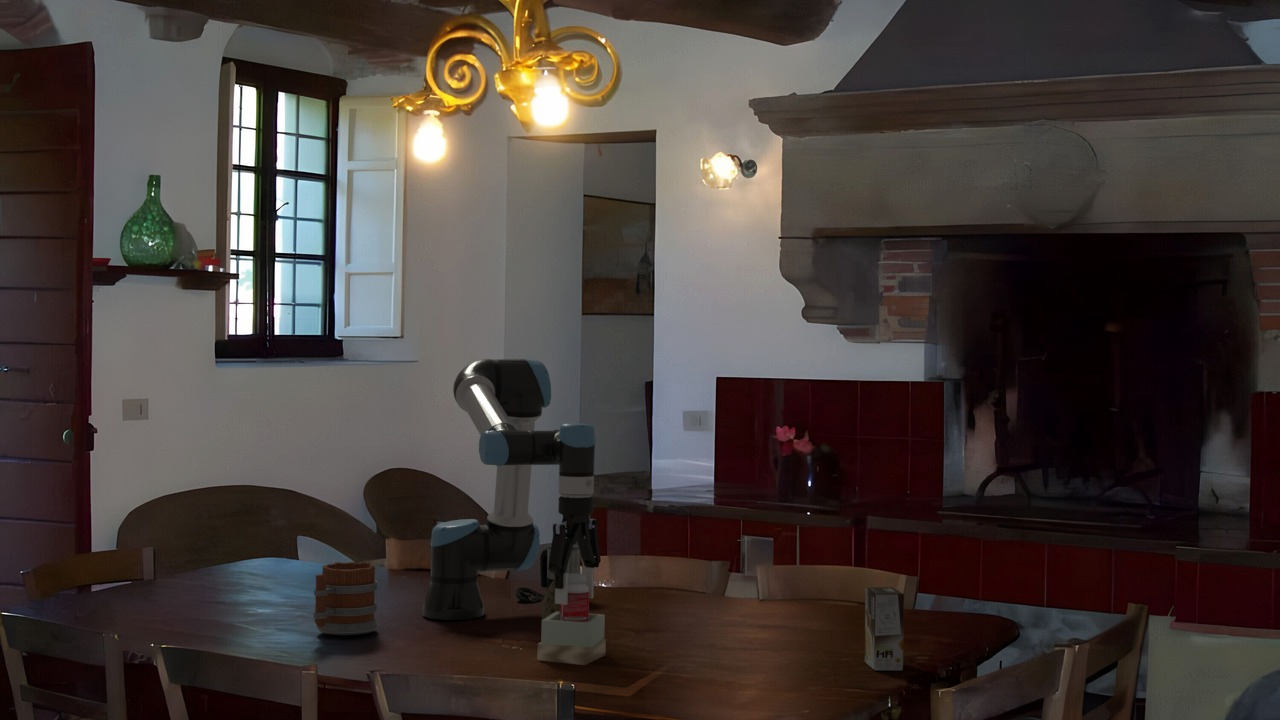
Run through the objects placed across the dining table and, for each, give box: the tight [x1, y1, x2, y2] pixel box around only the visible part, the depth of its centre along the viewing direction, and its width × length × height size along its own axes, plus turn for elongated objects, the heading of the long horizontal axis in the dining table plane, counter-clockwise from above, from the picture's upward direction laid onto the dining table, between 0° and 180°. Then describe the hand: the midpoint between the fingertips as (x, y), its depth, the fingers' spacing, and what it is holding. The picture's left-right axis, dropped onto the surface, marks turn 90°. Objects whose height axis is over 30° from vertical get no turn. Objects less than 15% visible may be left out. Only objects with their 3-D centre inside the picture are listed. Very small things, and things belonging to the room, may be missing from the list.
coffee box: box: [864, 586, 905, 672], centre depth 282 cm, size 9×6×16 cm
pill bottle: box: [560, 573, 590, 622], centre depth 286 cm, size 6×6×11 cm
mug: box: [313, 561, 379, 636], centre depth 310 cm, size 14×19×15 cm
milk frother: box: [514, 543, 581, 604], centre depth 353 cm, size 14×16×15 cm
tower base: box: [536, 637, 607, 666], centre depth 286 cm, size 11×11×4 cm
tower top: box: [540, 612, 606, 648], centre depth 286 cm, size 11×11×5 cm
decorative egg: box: [541, 580, 560, 621], centre depth 304 cm, size 11×11×15 cm
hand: (574, 600), depth 286 cm, fingers open, 9 cm apart
